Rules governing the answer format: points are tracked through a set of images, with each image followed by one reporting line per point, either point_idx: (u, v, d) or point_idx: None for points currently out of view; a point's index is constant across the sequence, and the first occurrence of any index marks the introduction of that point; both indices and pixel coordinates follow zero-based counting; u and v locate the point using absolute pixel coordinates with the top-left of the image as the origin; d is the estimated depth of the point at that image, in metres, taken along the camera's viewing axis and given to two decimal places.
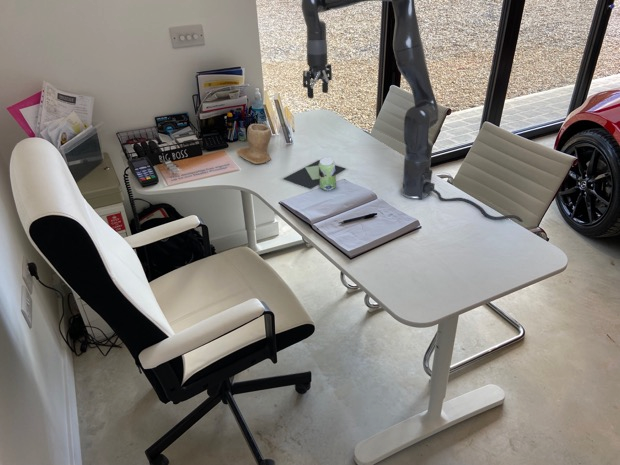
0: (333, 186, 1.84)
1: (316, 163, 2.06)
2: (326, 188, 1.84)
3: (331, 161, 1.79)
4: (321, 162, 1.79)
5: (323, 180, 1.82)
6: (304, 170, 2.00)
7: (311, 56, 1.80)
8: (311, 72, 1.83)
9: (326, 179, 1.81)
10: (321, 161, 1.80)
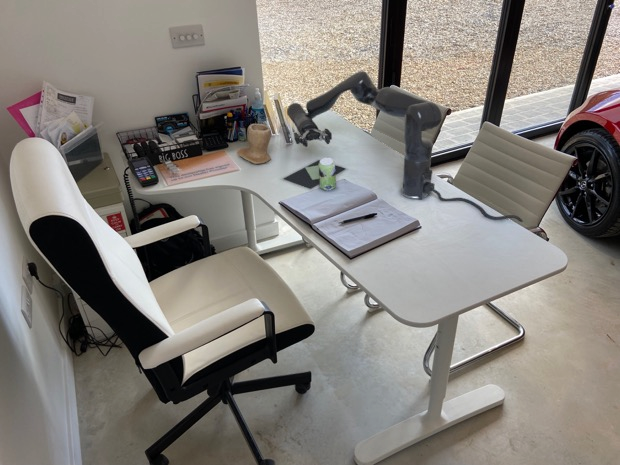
0: (333, 186, 1.84)
1: (316, 163, 2.06)
2: (326, 188, 1.84)
3: (331, 161, 1.79)
4: (321, 162, 1.79)
5: (323, 180, 1.82)
6: (304, 170, 2.00)
7: None
8: None
9: (326, 179, 1.81)
10: (321, 161, 1.80)
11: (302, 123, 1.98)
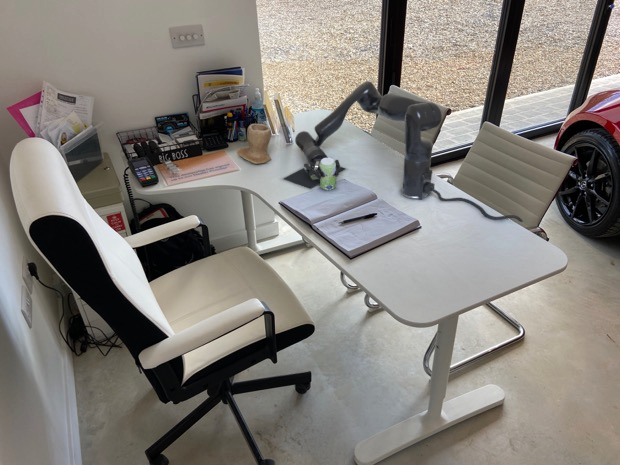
0: (333, 186, 1.84)
1: None
2: (327, 188, 1.84)
3: (332, 161, 1.79)
4: (322, 162, 1.79)
5: (324, 180, 1.82)
6: None
7: None
8: None
9: (327, 179, 1.81)
10: (322, 160, 1.80)
11: (312, 153, 1.91)
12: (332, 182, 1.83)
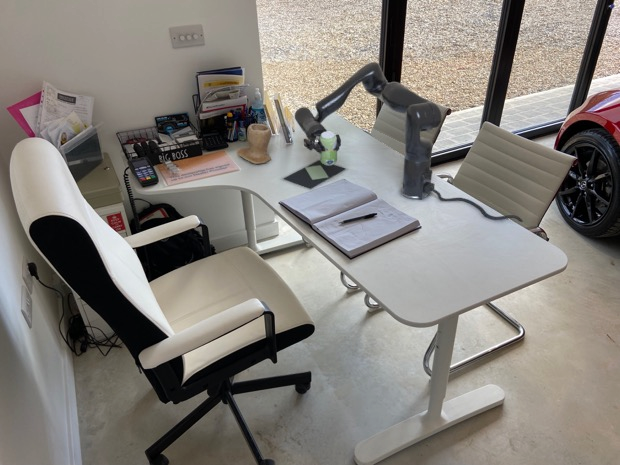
0: (334, 161, 1.79)
1: (316, 163, 2.06)
2: (327, 163, 1.79)
3: (332, 135, 1.74)
4: (323, 136, 1.74)
5: (324, 154, 1.76)
6: (304, 170, 2.00)
7: None
8: None
9: (328, 153, 1.76)
10: (323, 134, 1.75)
11: (311, 128, 1.86)
12: (333, 157, 1.77)
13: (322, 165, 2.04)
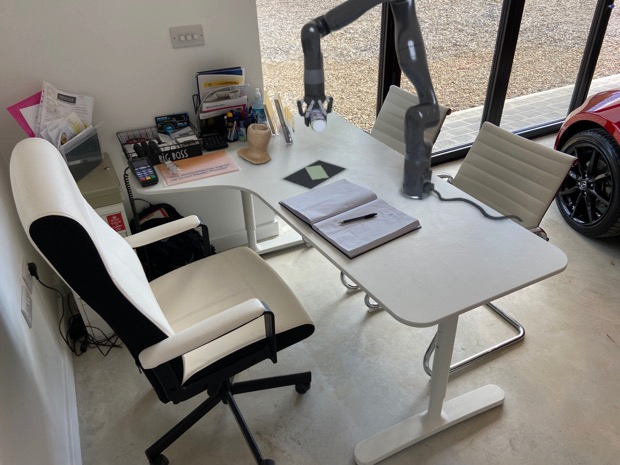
0: None
1: (316, 163, 2.06)
2: None
3: (323, 127, 1.84)
4: (314, 127, 1.83)
5: None
6: (304, 170, 2.00)
7: None
8: None
9: None
10: (315, 124, 1.82)
11: (310, 88, 1.77)
12: None
13: (322, 165, 2.04)
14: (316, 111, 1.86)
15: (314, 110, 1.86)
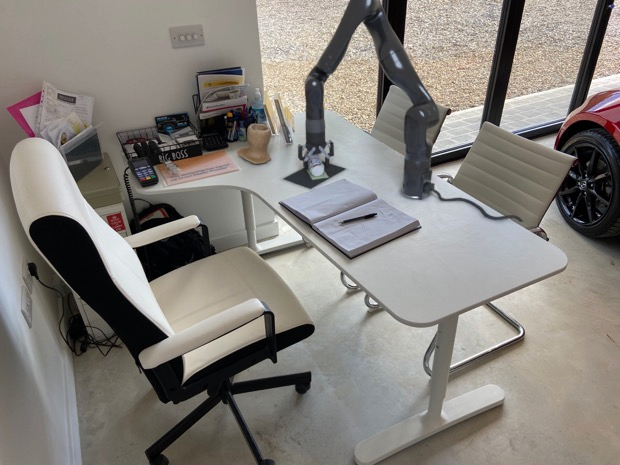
0: None
1: None
2: None
3: (321, 170, 1.93)
4: (313, 173, 1.93)
5: None
6: (304, 170, 2.00)
7: None
8: None
9: None
10: (313, 171, 1.92)
11: (311, 136, 1.87)
12: None
13: None
14: (311, 157, 1.95)
15: None
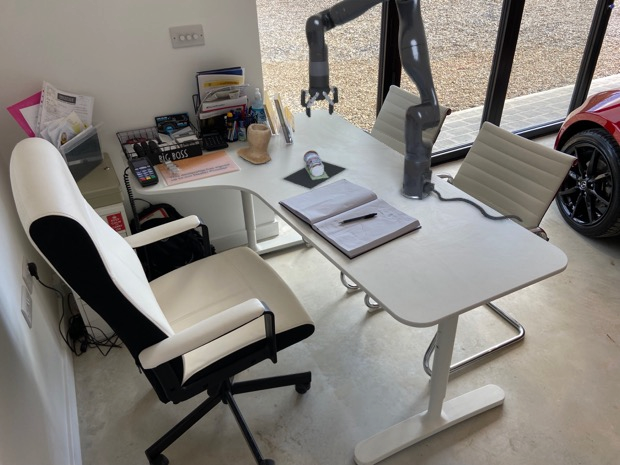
0: None
1: None
2: None
3: (321, 170, 1.93)
4: (313, 173, 1.93)
5: None
6: (304, 170, 2.00)
7: None
8: None
9: None
10: (313, 171, 1.92)
11: (315, 80, 1.79)
12: None
13: None
14: (311, 157, 1.95)
15: (309, 156, 1.96)
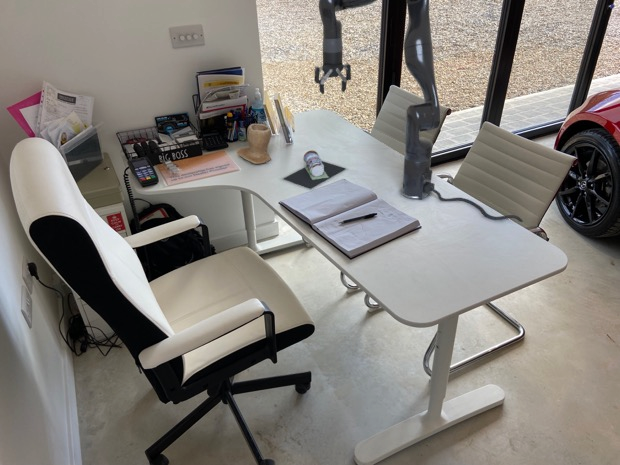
0: None
1: None
2: None
3: (321, 170, 1.93)
4: (313, 173, 1.93)
5: None
6: (304, 170, 2.00)
7: None
8: None
9: None
10: (313, 171, 1.92)
11: (329, 56, 1.85)
12: None
13: None
14: (311, 157, 1.95)
15: (309, 156, 1.96)
